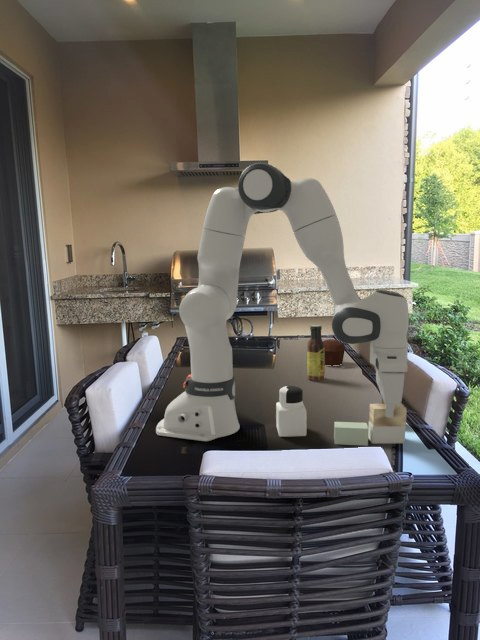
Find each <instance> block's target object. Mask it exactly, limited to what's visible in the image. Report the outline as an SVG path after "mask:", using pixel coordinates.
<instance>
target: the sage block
mask: <svg viewBox="0 0 480 640" xmlns="http://www.w3.org/2000/svg"><path fill="white" fill-rule="evenodd" d="M333 424H334V425H333V427H334V429H333V440H334V445H345V446H346V445H347V446H366V447H367V446H369V438H368V429H369V425H368V423H367V422H353V421H352V422H351V421H350V422H349V421H334V423H333Z"/></svg>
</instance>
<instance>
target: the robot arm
mask: <svg viewBox="0 0 480 640" xmlns="http://www.w3.org/2000/svg"><path fill="white" fill-rule="evenodd" d="M237 183H238V184H237V187H231V186H225V187H221V188H220V187H219V188H218V189H216V190H215V191H214V192H213V194H212V196H211V198H210V201H209V203H208V206H207V210H206V213H205V217H204V220H203V225H202V229H201V235H200V241H199V246H198V252H197V257H196V258H197V263H198V283H197V285H198V286H197V287H194V288H193V289H191V290H190V291H188V292H187V293H186V295H185V296H184V297H183V298H182V300H181V301H180V303H179V308H178V312H179V313H178V314H179V318H180V319H181V321H182V323H183V325H184V328H185V332H186V337H187V342H188V345H189V346H188V347H189V353H190V355H189V356H190V372H191V373H190V374H188V376H186V379H185V380H184V381H183V382H184V383H183V384H182V385H183V386H182V387H183V389H184V391H183V392H182V393H181V394H179V395H178V396H177V397H176V398H174V399H173V400H172V401H170V403H169V404H168V405H167V407H166V408H165V412H164V418H163V419H161V420H160V421H159V422H158V423H157V425H156V427H155V433H156V434H157V436H162V437H170V438H177V439H185V440H193V441H199V442H200V441H201V442H209V441H210V442H211V441H212V440H215V439H218V438H222V437H227V436H230V435H232V434H235V433H237V432H238V431H239V430H240V423H239V420H238V416H237V411H236V405H235V396H236V383H235V376H234V375H233V373H234V372H233V348H232V345H231V343H230V339H229V334H228V327H227V321H228V320H230V318H232V316H233V315H234V313H235V311H236V309H237V304H238V300H237V299H238V291H239V277H240V275H239V274H240V266H241V260H242V255H243V251H244V246H245V245H244V244H245V240H246V234H247V229H248V226H249V221H250V219H251V217H252V216H253V215H257V214H258V215H259V214H266V213H267V214H268V213H274V212H277V211H281V212H283V213H284V214H285V216H286V217H287V219H288V222H289V224H290V226H291V228H292V229H291V230H292V232H293V235H294V237H295V240H296V242H297V244H298V246H299V248H300V249H301V251H302V253H303V255H305V257H306V258H307V260H309V261H310V262H311V263H313V265H315V267H317V269H318V270H319V271H320V273H321V274H322V276H323V279H324V281H325V284H326V287H327V288H328V292H329V294H330V297H331V298H332V299H331V300H332V301H333V318H332V320H331V321H332V323H331V329H332V333H333V334H334V336H335V337H336V339H337V340H338V341H340V342H341V343H343V344H349V345H356V344H363V343H368V342H369V363H370V364H371V365H373V366H374V370H375V381H376V385H377V387H378V389H379V391H380V392H379V393H380V404H386V406H385V415H386V417H387V418H392V417H393V413H394V408H395V405H400V403H402V400H403V393H404V385H405V384H404V383H405V373H407V372H408V350H409V349H408V346H409V344H408V339H407V333H408V331H409V322H410V319H409V318H410V317H409V304H408V300H407V298H406V297H405V296H404V295H402V294H401V293H399V292H395V291H391V290H386V289H377V290H375V291H374V292H373V293H371V294H370V295H368V296H366V297H364V298H360V296H359V295H358V293H357V292H356V289H355V286H354V284H353V282H352V279H351V276H350V273H349V271H348V267H347V265H346V261H345V252H344V251H345V249H344V247H345V246H344V239H343V234H342V233H343V232H342V227H341V224H340V222H339V218H338V215H337V213H336V210H335V208H334V205H333V204H332V201H331V199H330V196H329V195H328V193H327V191H326V190H325V189H324V187H323V186H322V184H321V183H320V181H319V180H318V179H315V178H312V177H311V178H309V177H308V178H307V177H305V178H300V179H297V180H295V181H291V179H290V178H289V177H288V176H286V175H285V174H284V173H283V172H282V171H281V170H280V169H279V168H277V167H276V166H273V165H272V164H269V163H267V162H265V163H264V162H256V163H253V164H250V165H249V166H247V167H246V168H245V169H244V170H243V171H242V173H241V174H240V177H239V179H238V182H237Z"/></svg>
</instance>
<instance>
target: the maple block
mask: <svg viewBox="0 0 480 640" xmlns="http://www.w3.org/2000/svg"><path fill="white" fill-rule="evenodd" d="M385 406H386V404H381V403H369V416H368V417H369V418H368V419H369V420H368V422H369V421H370V422H371V424H372V425H373V427H381V426H405V427H407V411H408V410H407V409H408V408H407V407H406V406H405V405H404V404H403V403H402V402H401V403H400V405H395V408H394V413H393V417H392V418H387V417H386V415H385Z"/></svg>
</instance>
